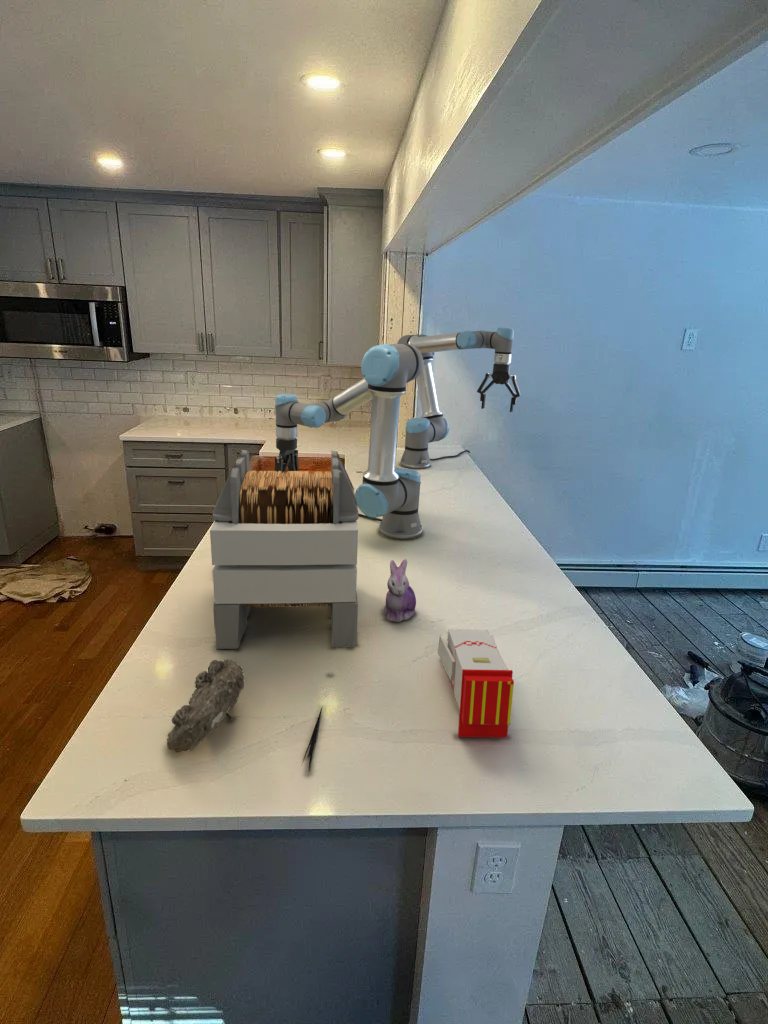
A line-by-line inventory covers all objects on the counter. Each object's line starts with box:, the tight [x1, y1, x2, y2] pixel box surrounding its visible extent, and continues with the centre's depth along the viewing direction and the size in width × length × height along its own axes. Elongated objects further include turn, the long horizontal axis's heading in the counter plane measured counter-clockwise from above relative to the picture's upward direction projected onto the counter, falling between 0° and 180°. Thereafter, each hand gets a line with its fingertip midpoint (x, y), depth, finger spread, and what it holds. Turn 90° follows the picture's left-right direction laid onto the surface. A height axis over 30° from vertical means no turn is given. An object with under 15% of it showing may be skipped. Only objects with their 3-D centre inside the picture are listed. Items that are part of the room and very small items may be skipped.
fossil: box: [166, 658, 245, 754], centre depth 106 cm, size 22×10×15 cm
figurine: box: [384, 558, 417, 623], centre depth 145 cm, size 9×10×15 cm
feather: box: [301, 673, 332, 771], centre depth 108 cm, size 2×28×2 cm
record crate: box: [209, 449, 360, 651], centre depth 139 cm, size 34×33×41 cm
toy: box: [437, 628, 515, 738], centre depth 117 cm, size 12×13×30 cm
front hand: (287, 497), depth 212 cm, fingers closed on canister, 8 cm apart
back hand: (496, 410), depth 265 cm, fingers open, 13 cm apart
